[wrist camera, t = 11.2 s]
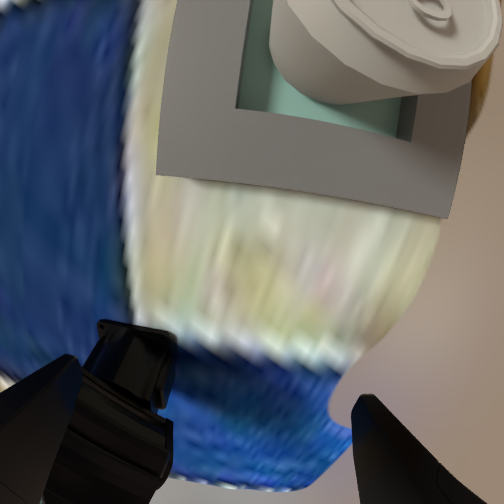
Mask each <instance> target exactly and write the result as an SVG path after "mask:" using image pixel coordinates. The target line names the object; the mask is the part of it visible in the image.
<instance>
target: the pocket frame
mask: <svg viewBox="0 0 504 504" xmlns="http://www.w3.org/2000/svg"><path fill="white" fill-rule="evenodd" d="M272 8H273V0H177V5H176V10H175V15H174V20H173V26H172V31H171V37H170V43H169V49H168V56H167V63H166V70H165V77H164V85H163V94H162V103H161V112H160V123H159V135H158V148H157V164H156V175H162V176H174V177H186V178H197V179H207V180H217V181H226V182H235V183H244V184H252V185H260V186H267V187H275V188H282V189H289V190H296V191H303V192H309V193H316V194H322V195H328V196H334V197H340V198H346V199H351V200H357V201H363V202H368V203H373V204H378V205H384V206H389V207H394V208H398V209H403V210H408V211H413V212H417V213H422V214H426V215H431V216H435V217H440V218H444V219H448V216H449V212H450V208H451V205H452V201H453V197H454V192H455V189H456V184H457V180H458V175H459V171H460V165H461V160H462V155H463V149H464V144H465V138H466V131H467V124H468V117H469V108H470V98H471V86H472V79H471V81H470V82H468V83H466V84H464V85H462V86H460V87H458V88H455V89H453V90H451V91H449V92H447V93H435V94H423V95H413V96H403V97H395V98H387V99H380V100H373V101H366V102H360V103H353V104H345V105H335V104H328V103H322V102H318V101H316V100H314V99H312V98H310V97H307V96H305V95H303V94H301V93H300V92H298V91H297V90H296V89H295V88H294V87H292V86H291V85H290V84H289V83H288V82H286V81H285V80H284V78H283V77H282V75H281V74H280V72H279V71H278V69H277V68H276V66H275V65H274V62H273V59H272V55H271V52H270V48H269V39H270V27H271V17H272Z"/></svg>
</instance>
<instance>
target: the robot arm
mask: <svg viewBox="0 0 504 504" xmlns="http://www.w3.org/2000/svg"><path fill="white" fill-rule="evenodd" d="M97 328H98V333H99V338H100V339H99V340H98V342H97V344H96V345H95V347H94V348H93V350H92V352H91V353H90V355H89V357H88V358H87V360H86V362H85V363H84V365H83V367H82V366H80V365H81V364H79V361H78V358H77V357H76V356H73V355H70V354H64V355H62V356H60V357H59V358H57V359H55V360H54V361H52V362H50V363H49V364H47V365H45V366H44V367H42V368H40V369H39V370H37V371H36V372H34V373H32V374H31V375H29V376H27V377H26V378H24V379H22V380H21V381H19V382H17V383H16V384H14V385H12V386H11V387H9V388H7V389H6V390H4V391H2V392H1V393H0V504H149V502H150V500H151V498H152V497H153V495H154V493H155V491H156V490H157V489H159V488H160V487H161V486H162V485H163V484H164V482H165V481H166V479H167V478H168V475H169V473H170V471H171V468H172V464H173V421H171V420H169V419H167V418H166V419H165V418H163V417H161V416H159V415H158V414H157V412H158V409H162V410H163V409H165V408H166V406H167V402H168V399H169V395H170V392H171V388H172V385H173V381H174V378H175V363H174V356H173V354H170V336H169V334H168V333H167V332H165V331H160V330H154V329H149V328H143V327H138V326H133V325H128V324H123V323H118V322H113V321H108V320H104V319H101V320H99V322H98V323H97ZM161 336H162V337H164V338H162V337H161ZM351 422H352V443H353V457H354V464H355V471H356V477H357V484H358V491H359V497H360V504H487V503H486V502H484V501H483V500H482V499H481V498H479V497H478V496H477V495H475V494H474V493H473V492H471V491H470V490H469V489H468V488H467V487H465V486H464V485H463V484H462V483H461V482H459V481H458V480H457V479H456V478H455V477H454V476H453V475H452V474H450V473H449V471H448V470H447V469H446V468H445V467H444V466H443V465H441V463H439V462H438V461H437V459H436V458H435V457H434V456H433V455H432V454H431V453H430V452H429V451H428V450H427V449H426V448H425V447H424V446H423V445H422V444H421V443H420V442H419V441H418V440H417V439H416V438H415V437H414V436H413V435H412V434H411V432H410V431H409V430H408V429H407V428H406V427H405V426H404V425H403V424H402V423H401V422H400V421H399V420H398V419H397V418H396V417H395V416H394V415H393V414H392V413H391V412H390V411H389V410H388V409H387V408H386V406H385V405H384V404H383V403H382V402H381V401H380V400H379V399H378V398H377V397H376V396H375V395H373V394H362V395H360V396H359V398H358V400H357V402H356V403H355V405H354V407H353V409H352V413H351Z"/></svg>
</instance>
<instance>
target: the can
mask: <svg viewBox="0 0 504 504" xmlns="http://www.w3.org/2000/svg"><path fill="white" fill-rule="evenodd" d="M501 30H502V16H501V9H500V3H499V0H273V8H272V17H271V27H270V39H269V48H270V52H271V55H272V59H273V62H274V65H275V66H276V68H277V69H278V71H279V72H280V74H281V75H282V77H283V78H284V80H285V81H286V82H288V83H289V84H290V85H291V86H292V87H294V88H295V89H296V90H297V91H298V92H300V93H301V94H303V95H305V96H307V97H310V98H312V99H314V100H316V101H318V102H322V103H328V104H335V105H345V104H353V103H360V102H366V101H373V100H380V99H387V98H395V97H403V96H413V95H423V94H435V93H447V92H449V91H451V90H453V89H455V88H458V87H460V86H462V85H464V84H466V83H468V82H470V81H471V79H472V78H473V77H474V76H475V74H476V73H477V72H478V71H479V69H480V68H481V67H482V66H483V64H484V62H486V61H487V60H488V58H489V57H490V56H491V55H492V53H493V52H494V51H495V49H496V48H497V47H498V45H499V40H500V36H501Z"/></svg>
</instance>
